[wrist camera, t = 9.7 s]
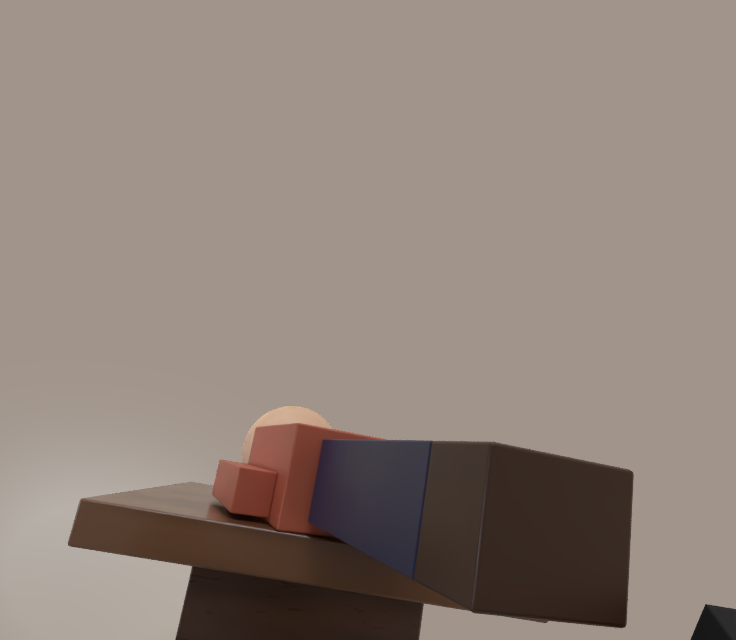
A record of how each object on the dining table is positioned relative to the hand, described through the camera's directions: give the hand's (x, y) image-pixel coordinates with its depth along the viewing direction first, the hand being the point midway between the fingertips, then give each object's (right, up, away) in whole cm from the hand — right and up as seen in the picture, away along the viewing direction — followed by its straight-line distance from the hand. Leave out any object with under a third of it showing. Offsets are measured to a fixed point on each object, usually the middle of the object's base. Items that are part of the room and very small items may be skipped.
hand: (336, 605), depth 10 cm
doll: (-1, -3, +11) cm, 12 cm away
